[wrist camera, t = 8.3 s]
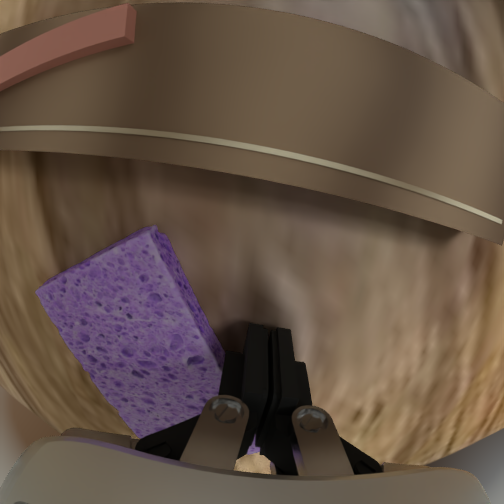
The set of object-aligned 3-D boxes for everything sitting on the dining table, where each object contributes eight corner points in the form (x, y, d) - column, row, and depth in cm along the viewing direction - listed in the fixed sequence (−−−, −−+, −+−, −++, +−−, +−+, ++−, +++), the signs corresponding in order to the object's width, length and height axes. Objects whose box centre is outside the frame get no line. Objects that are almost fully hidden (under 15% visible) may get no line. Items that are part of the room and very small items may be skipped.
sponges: (169, 443, 16) (163, 465, 14) (49, 273, 13) (27, 289, 11) (274, 426, 15) (275, 451, 13) (164, 216, 12) (147, 229, 10)
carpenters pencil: (136, 11, 6) (127, 2, 6) (133, 43, 7) (124, 36, 6) (-50, 98, 7) (-60, 98, 6) (-52, 122, 7) (-62, 123, 7)
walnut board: (488, 119, 9) (527, 119, 7) (467, 228, 11) (503, 246, 8) (-7, 55, 8) (-39, 49, 6) (-23, 146, 10) (-57, 151, 8)
